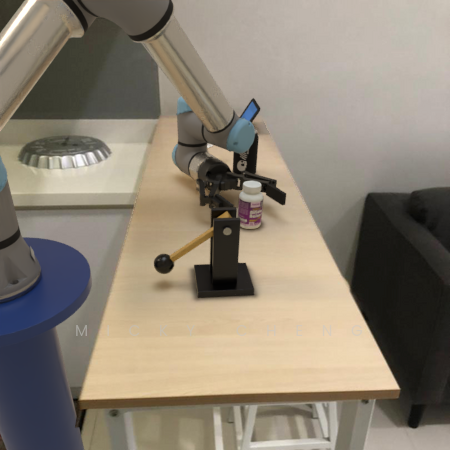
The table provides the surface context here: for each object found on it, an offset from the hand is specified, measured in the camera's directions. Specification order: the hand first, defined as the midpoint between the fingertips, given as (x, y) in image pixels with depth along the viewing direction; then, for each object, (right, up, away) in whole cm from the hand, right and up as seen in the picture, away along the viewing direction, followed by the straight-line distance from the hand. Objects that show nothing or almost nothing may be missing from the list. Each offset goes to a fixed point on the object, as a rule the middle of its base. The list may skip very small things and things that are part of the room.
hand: (259, 205), depth 100 cm
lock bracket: (-8, -17, -14) cm, 23 cm away
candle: (-13, +21, +39) cm, 46 cm away
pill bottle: (-2, -3, +6) cm, 7 cm away
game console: (-3, +41, +67) cm, 79 cm away
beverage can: (-2, +15, +31) cm, 35 cm away
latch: (-12, -12, -18) cm, 25 cm away
